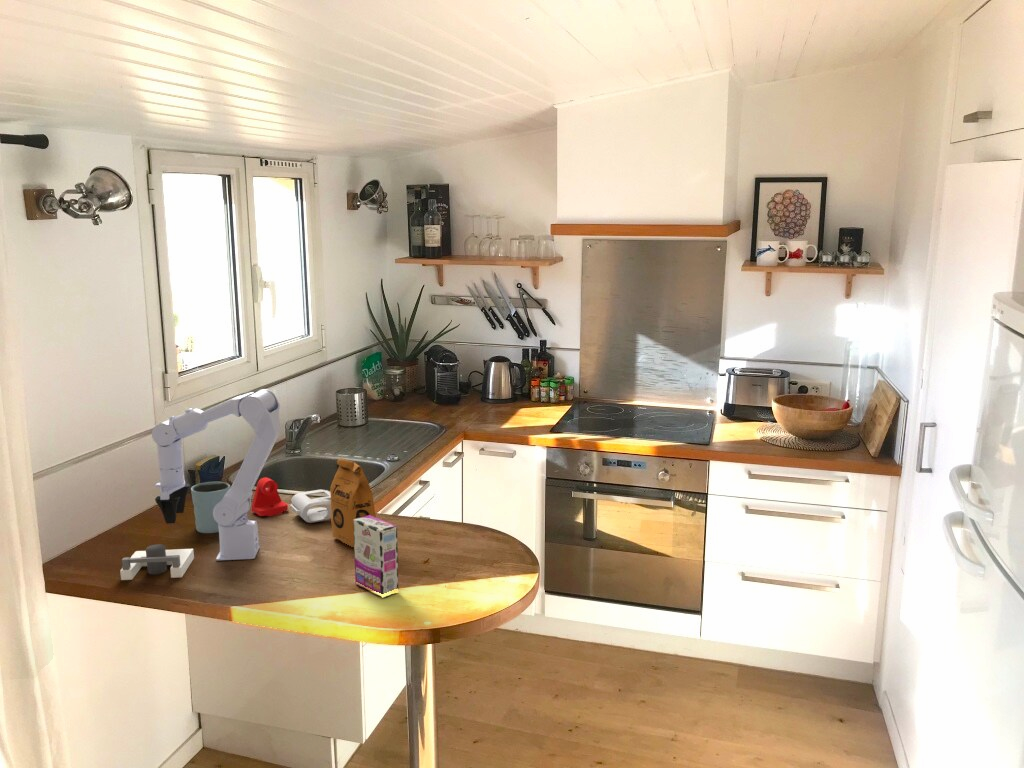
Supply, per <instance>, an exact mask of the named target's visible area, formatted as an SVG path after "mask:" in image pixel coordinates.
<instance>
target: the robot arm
mask: <svg viewBox="0 0 1024 768" xmlns="http://www.w3.org/2000/svg"><path fill="white" fill-rule="evenodd" d="M280 408H281V404H280V402H279V400H278V398H277V396H276V395H275V393H274V392H273V391H271V390H269V389H267V388H262V389H259V390H257V391H256V392H254V391H252V392H247V393H244V394H240V395H238V396H235V397H232V398H230V399H228V400H226V401H223V402H221V403H219V404H217V405H214V406H212V407H210V408H208V409H205V410H202V409H199V408H194V409H193V408H192V407H191V408H188V409H186V410H184V413H183V414H179V415H177V416H175V415H172V416H170V417H169V418H168V419H166V420H164V421H163V422H159V423H158V424H156V425H155V426H154V427H153V428H152V431H151V438H152V441H153V442H155V443H156V447H157V448H156V449H157V457H158V458H157V460H158V471H159V472H158V474H159V482H157V483H155V488H157V489H160V491H159V495H158V496H156V497H155V498H154V499H155V503H156V504H157V505H158V507H159V509H160V510H161V512H162V515H163V518H164V521H165V523H166V524H175V523H176V521H177V514H183V513H184V511H185V507H186V506H185V505H186V499H187V495H188V492H189V489H191V484H190V483H186V481H185V474H184V471H185V470H184V463H183V462H184V461H183V460H184V459H183V449H182V441H183V440H182V439H185V438H188V437H191V436H193V435H195V434H197V433H200V432H202V431H205V430H206V429H207V428H208V425H209V423H211V422H214V421H215V420H218V419H221V418H224V417H227V416H229V415H234V416H236V417H237V418H239V417H242V418H243V419H244V420H245V421H246V422H247V423H248V424H249V426H250V427H251V428H252V429H253V430H254V432H255V436H254V438H253V440H252V442H251V444H250V447H249V449H248V451H247V453H246V455H245V456H244V459H243V461H242V464H241V465H240V467H239V469H238V472H237V473H236V475H235V478H234V480H233V482H232V484H231V486H230V489H229V490H228V491H227V493H226V494H225V495H224V497H223V499H222V501H221V502H220V503H218V504H217V505H216V506H215V507H214V509H213V517H214V519H215V521H216V522H217V523H218V527H219V532H218V538H219V552H218V554H217V556H216V559H215V560H216V561H232V560H233V561H235V560H239V561H240V560H253V559H255V558H256V556H257V554H258V552H259V549H260V544H259V543H260V542H259V527H258V521H257V520H251V519H248V512H249V511H250V509H251V508H252V497H253V496H254V495H253V494H254V492H253V489H254V487H255V485H256V483H257V480H258V479H259V476H260V475H261V473H262V470H263V469H264V466H265V464H266V462H267V460H268V458H269V457H270V454H271V452H272V450H273V448H274V446H275V444H276V441H277V440H278V437H279V436H280V432H281V428H280V414H279V413H280Z"/></svg>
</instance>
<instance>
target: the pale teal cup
mask: <svg viewBox="0 0 1024 768" xmlns="http://www.w3.org/2000/svg"><path fill="white" fill-rule="evenodd" d="M230 488H231V486H230V484H229V483H227V482H223V481H206V482H200V483H197V484H195V485H193V486H191V487H190V492H191V493H190V494H191V499H192V504H193V513H194V517H195V528H196V531H197V532H198V533H201V534H215V533H219V527H218V523H217V522H216V521H215V519H214V517H213V509H214V507H215V506H216V505H217V504H218V503H220V502H221V501H222V499H223V497H224V495H225V494H226V493H227V491H228V490H229V489H230Z"/></svg>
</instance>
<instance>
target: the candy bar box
mask: <svg viewBox="0 0 1024 768" xmlns="http://www.w3.org/2000/svg"><path fill="white" fill-rule="evenodd" d="M353 521H354V548H353V549H354V550H353V551H354V575H355V577H354V578H355V583H356V582H358V583H360V584H362V585H364V586H365V587H368V588H370V589H372V590H374V591H376V592H379V593H381V594H384V593H387V592H389V591H392V590H394V589H397V588H398V589H399V558H398V556H399V553H398V552H399V551H398V549H399V548H398V526H397V525H396V524H393V523H391V522H388V521H386V520H383V519H381V518H378V517H377V516H376V517H373V516H371V515H368V516H364V517H360V518H357V519H354V520H353Z"/></svg>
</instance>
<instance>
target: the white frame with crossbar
mask: <svg viewBox="0 0 1024 768" xmlns="http://www.w3.org/2000/svg"><path fill="white" fill-rule="evenodd" d="M165 551H166V557H146V550H136V551H134V553H132V555H131V557H130V556H129V557H123V558H122V559H121V565H122V567H121V569H120V571H119V572H120V581H130V580H133V579H134V577H135V576H136V575H137V574H138V573H139V571H140V570H141V568H142V567H147V562H167V566H170V578H172V579H173V578H174V579H175V578H183V576H184V575H185V573H186V572H187V570H188V569H189V567H190V565H191V564H192V562H193V560H194V559H195V555H194V554H195V553H194V552H195V551H194V548H180V549H179V548H177V549H165Z"/></svg>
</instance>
